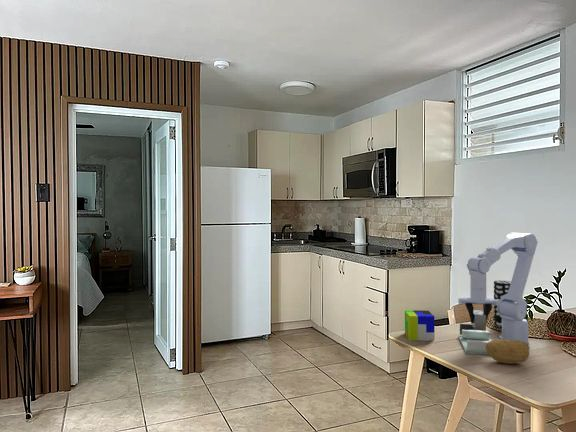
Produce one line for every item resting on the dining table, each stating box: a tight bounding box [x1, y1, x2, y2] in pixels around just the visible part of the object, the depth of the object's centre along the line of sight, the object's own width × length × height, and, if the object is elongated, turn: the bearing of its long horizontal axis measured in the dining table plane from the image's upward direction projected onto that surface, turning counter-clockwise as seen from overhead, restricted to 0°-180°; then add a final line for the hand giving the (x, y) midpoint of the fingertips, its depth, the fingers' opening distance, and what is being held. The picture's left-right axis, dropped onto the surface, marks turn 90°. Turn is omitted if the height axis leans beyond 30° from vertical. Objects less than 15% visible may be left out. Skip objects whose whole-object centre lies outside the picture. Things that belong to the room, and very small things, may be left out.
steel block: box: [470, 309, 487, 331], centre depth 175 cm, size 4×8×6 cm, turn 167°
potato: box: [485, 339, 530, 365], centre depth 157 cm, size 10×14×8 cm
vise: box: [458, 336, 492, 356], centre depth 174 cm, size 12×18×4 cm, turn 167°
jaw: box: [459, 323, 490, 340], centre depth 184 cm, size 10×8×4 cm
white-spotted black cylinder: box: [493, 280, 515, 327], centre depth 203 cm, size 8×8×20 cm
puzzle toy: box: [404, 309, 435, 341], centre depth 189 cm, size 10×10×10 cm
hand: (478, 322), depth 175 cm, fingers closed on steel block, 4 cm apart
